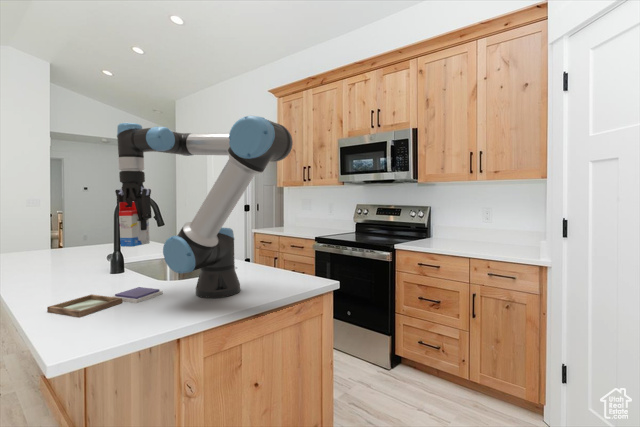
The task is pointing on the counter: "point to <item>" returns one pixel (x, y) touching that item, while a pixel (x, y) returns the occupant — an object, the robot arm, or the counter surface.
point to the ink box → (130, 226)
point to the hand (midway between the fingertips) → (135, 239)
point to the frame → (84, 305)
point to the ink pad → (138, 294)
